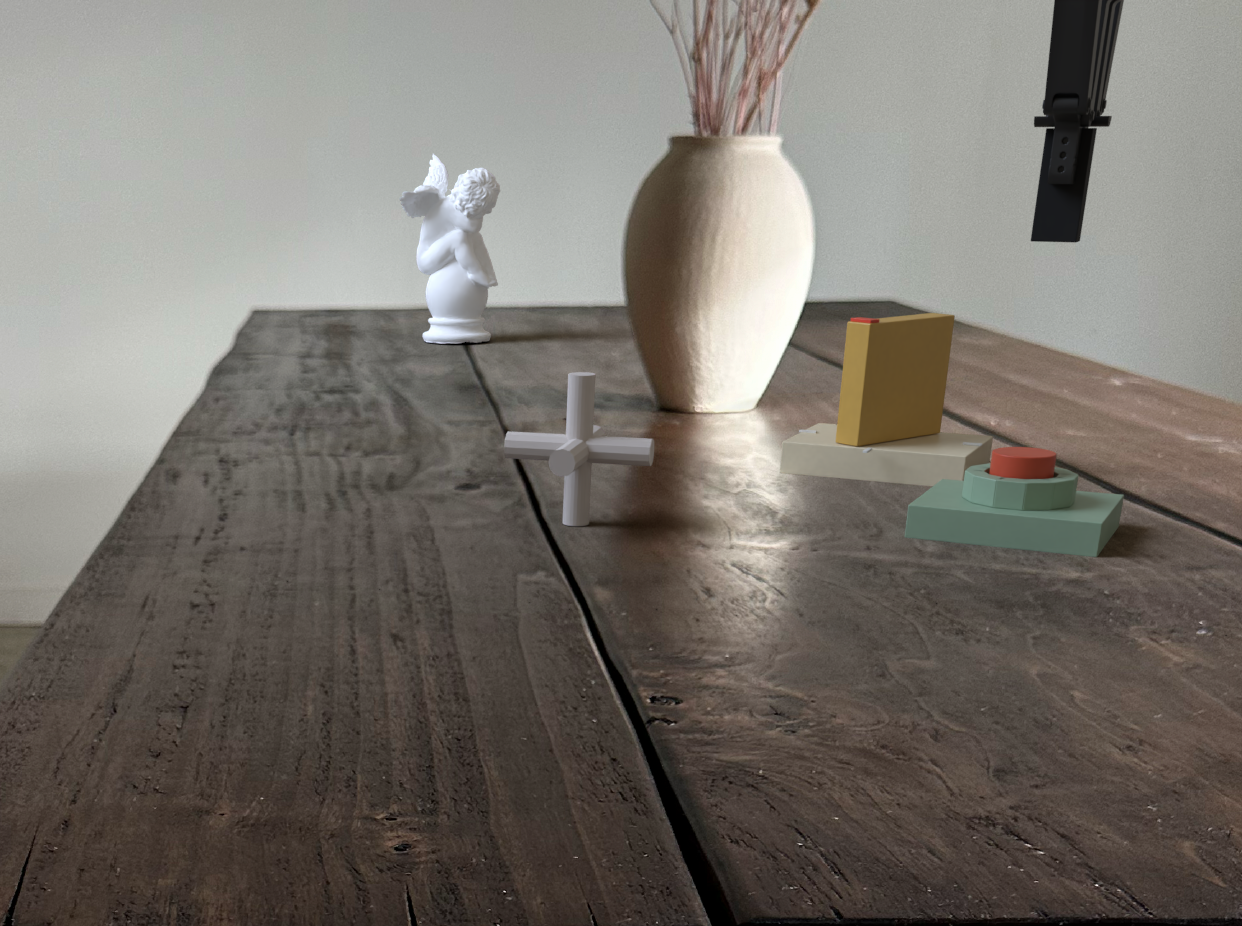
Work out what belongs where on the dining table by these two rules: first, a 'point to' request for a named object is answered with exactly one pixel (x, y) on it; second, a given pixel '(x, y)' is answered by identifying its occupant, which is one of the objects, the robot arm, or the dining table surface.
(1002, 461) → the button
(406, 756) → the dining table surface
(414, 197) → the cherub figurine
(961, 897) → the dining table surface
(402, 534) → the dining table surface
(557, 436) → the pipe connector
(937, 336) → the tan flat block
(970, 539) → the button box
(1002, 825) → the dining table surface
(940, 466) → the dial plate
